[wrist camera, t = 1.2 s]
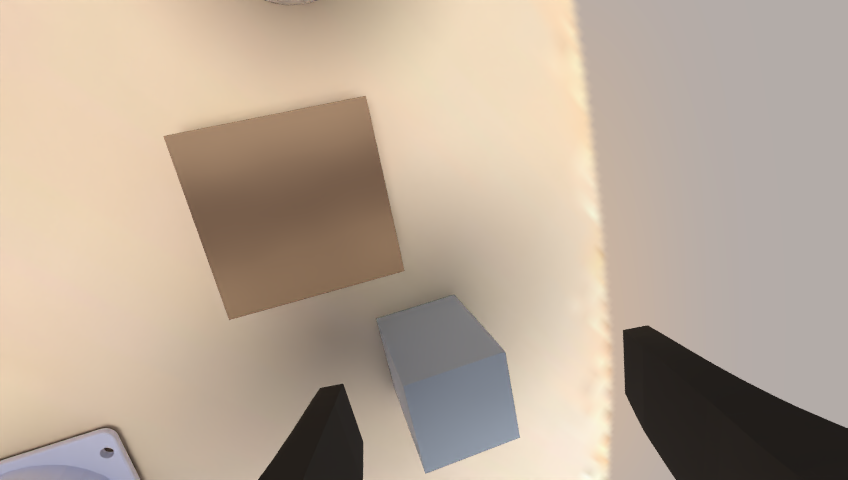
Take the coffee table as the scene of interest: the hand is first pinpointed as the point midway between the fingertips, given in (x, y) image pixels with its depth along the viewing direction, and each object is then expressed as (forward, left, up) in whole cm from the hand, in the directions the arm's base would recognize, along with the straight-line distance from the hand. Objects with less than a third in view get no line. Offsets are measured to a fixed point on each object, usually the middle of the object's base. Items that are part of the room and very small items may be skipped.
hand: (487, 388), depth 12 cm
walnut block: (+4, +4, -11) cm, 12 cm away
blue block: (-4, 0, -11) cm, 11 cm away
